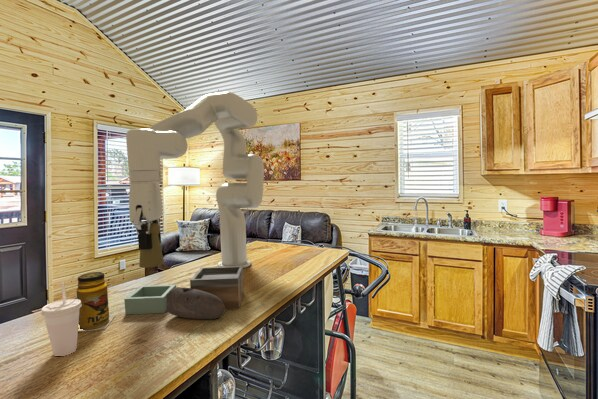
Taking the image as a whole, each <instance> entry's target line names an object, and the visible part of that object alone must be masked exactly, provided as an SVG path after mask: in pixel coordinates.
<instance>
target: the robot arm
mask: <svg viewBox="0 0 598 399" xmlns="http://www.w3.org/2000/svg"><path fill="white" fill-rule="evenodd" d="M257 123H258V113H257V110H256V108H255V106H254V105H252V104H251V102H249V101H248V100H246V99H245V98H243V97H241V96H240V95H238V94H236V93H234V92H231V91H222V92H214V93H207V94H205V95H203V96H201V97H199V98H198V99H196V100H195V101H194V102H193V103H191V104H190V105H189V106H187V107H186V108H184V109H183V110H182V111H179V112H177V113H174V114H173V115H171V116H169V117H167V118H164V119H162V120H160V121H158V122H156V123H155V124H152V125H151V126H150V127H148V128H132V129H129V130H127V131H126V134H125V140H126V155H127V164H128V165H127V168H128V177H129V179H128V181H129V194H128V195H129V196H128V205H129V206H128V207H129V208H128V210H129V211H128V212H129V221H130V223H133V226H134V227H135V230H136V234H137V242H138V243H137V244H138V249H139V250H145V249H152V234H151V233H150V223H157V224H158V225H159V227H160V228H161V217H162V216H163V201H162V192H161V185H160V184H162V170H161V160H171V159H178V158H181V157H182V156H184V155H185V154H186V153H187V151H188V140H187V139H190V138H194V137H196V136H199V135H201V134H203V133H204V132H205V131H206V130H208V128H209V127H210V126H212V125H213V124H214V125H215V127H216V128H217V130H218V131H219V133H220V135H221V137H222V140H223V156H222V174H223V177H224V178H226V179H228V180H232V181H233V180H238V181H239V180H240V181H241V180H243V181H246V182H226V183H222V184H221V185H220V186H218V187H217V189H216V191H215V199H216V203H217V208H218V210H219V211H218V213H219V227H220V228H219V230H220V233H219V234H220V250H221V251H220V252H221V254H220V255H221V258H220V259H221V260H220V261H219V262H218V263H217V267H234V266H243V269H245V268H247V267H249V266H251V265H252V260H251V259H248V258H247V257H248V255H247V254H248V252H247V230H246V229H247V227H246V225H247V224H246V217H245V214H244V213H243V211H242V209H257V208H259V207H260V205H261V204H262V202H263V193H264V179H265V178H264V176H265V166H264V162H263V159H262V157H261V156H260V155H259V154H256V153H247V147H248V146H247V141H246V138H245V136H244V135H243V133H241V131H240V130H242V129H250V128H253V127H254V126H256V124H257ZM239 129H240V130H239ZM142 224H146V227H145V226H144V225H142ZM161 235H162V233H161V231H160V233H159V234H158V237H159V241H160V244H161V243H162V237H161Z"/></svg>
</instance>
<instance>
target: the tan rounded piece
mask: <svg viewBox="0 0 598 399" xmlns="http://www.w3.org/2000/svg"><path fill="white" fill-rule="evenodd" d="M142 225H144V226H145V227H146V224H142ZM160 232H161V227H159V225H158V224H157V223H150V233H151V234H152V249H145V250H140V249H139V250H140V251H139V261H138V262H139V263H138V266H139V268H147V269H148V268H155V267H159V266H161V265H163V264H165V260H164V256H163V250H162V247H161V243H160V241H159V237H158V234H159V233H160Z"/></svg>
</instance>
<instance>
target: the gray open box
mask: <svg viewBox="0 0 598 399" xmlns="http://www.w3.org/2000/svg"><path fill="white" fill-rule="evenodd" d="M189 286H190V287H189V288H192V289H197V290H201V291H205V292H208V293H211V294H213V295H215V296H217V297H218V298H220V299H221V300H222V302H223V304H224V306H225V311H227V310H228V311H229V310H240V306H241V303H242V301H243V300H242V299H243V298H244V292H245V288H244V286H245V285H244V268H243V266H234V267H218V266H212V267H211V266H210V267H209V266H208V267H200V268H199V269H198V271H196V273H194V275H193V276H192V277H191V278H190V280H189Z"/></svg>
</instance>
